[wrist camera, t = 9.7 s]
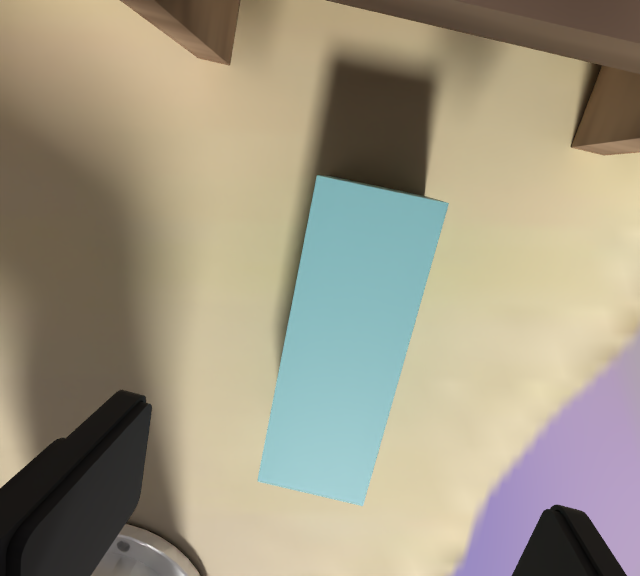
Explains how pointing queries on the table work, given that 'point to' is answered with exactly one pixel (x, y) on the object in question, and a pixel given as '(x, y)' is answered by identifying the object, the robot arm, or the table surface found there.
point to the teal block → (348, 335)
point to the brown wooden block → (485, 21)
